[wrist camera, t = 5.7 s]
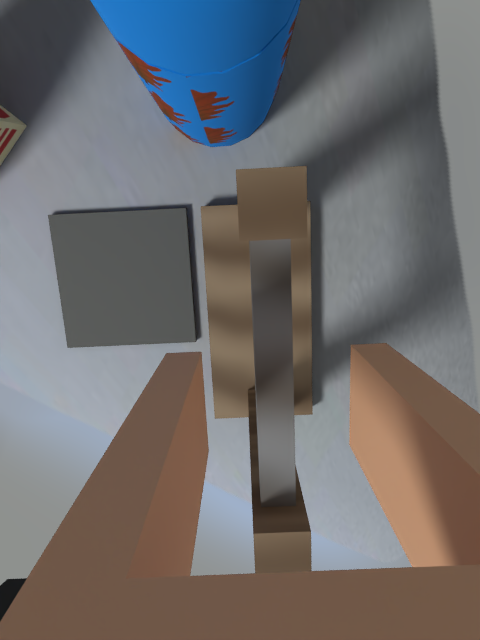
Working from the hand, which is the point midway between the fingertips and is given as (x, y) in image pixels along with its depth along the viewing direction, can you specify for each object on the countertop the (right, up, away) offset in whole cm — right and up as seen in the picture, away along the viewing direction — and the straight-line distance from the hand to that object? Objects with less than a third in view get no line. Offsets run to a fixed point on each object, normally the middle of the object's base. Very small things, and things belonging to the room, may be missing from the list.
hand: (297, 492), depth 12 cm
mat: (-13, +9, +27) cm, 31 cm away
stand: (0, +6, +28) cm, 28 cm away
